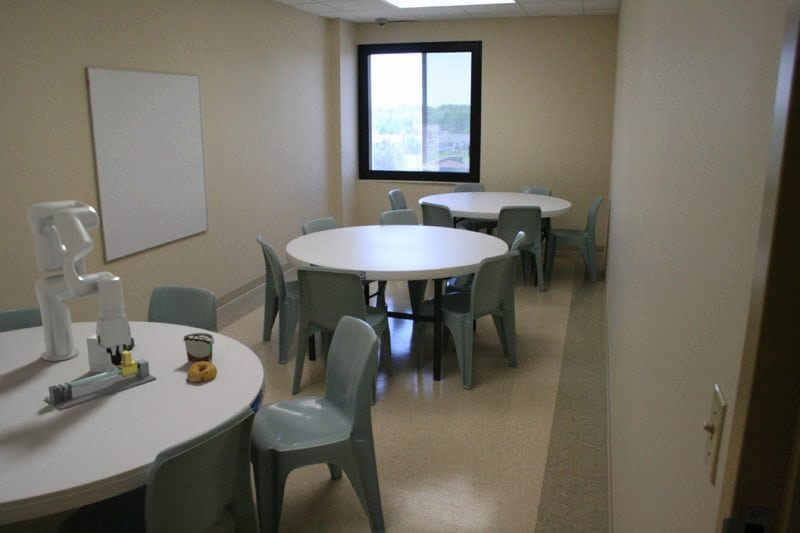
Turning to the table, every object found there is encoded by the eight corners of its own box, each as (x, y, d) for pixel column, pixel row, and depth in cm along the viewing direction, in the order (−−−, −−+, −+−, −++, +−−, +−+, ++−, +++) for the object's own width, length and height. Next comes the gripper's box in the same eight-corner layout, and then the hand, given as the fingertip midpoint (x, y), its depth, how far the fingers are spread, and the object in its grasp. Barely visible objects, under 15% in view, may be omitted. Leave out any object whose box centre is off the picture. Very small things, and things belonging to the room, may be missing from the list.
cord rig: (44, 399, 206) (42, 383, 205) (138, 370, 230) (137, 355, 229) (61, 410, 198) (58, 393, 197) (156, 379, 222) (154, 364, 221)
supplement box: (107, 373, 227) (104, 339, 224) (89, 371, 229) (85, 338, 226) (120, 365, 234) (117, 332, 231) (102, 363, 236) (99, 331, 233)
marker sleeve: (117, 374, 220) (115, 352, 218) (131, 370, 223) (129, 349, 222) (123, 377, 217) (121, 355, 215) (137, 373, 221) (135, 351, 219)
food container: (222, 359, 241) (221, 334, 239) (212, 365, 235) (211, 339, 233) (194, 355, 245) (193, 330, 242) (184, 361, 239) (182, 335, 237)
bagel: (179, 380, 222) (179, 367, 221) (201, 370, 232) (200, 357, 231) (202, 386, 218) (201, 373, 217) (223, 375, 228) (223, 362, 227)
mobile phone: (107, 348, 239) (137, 334, 252) (101, 347, 240) (131, 333, 253) (109, 360, 240) (138, 346, 254) (103, 359, 241) (132, 345, 255)
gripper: (127, 306, 221) (132, 355, 225) (84, 315, 209) (89, 368, 214) (138, 310, 216) (143, 361, 220) (94, 320, 205) (100, 373, 209)
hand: (117, 364), depth 217 cm, fingers closed
